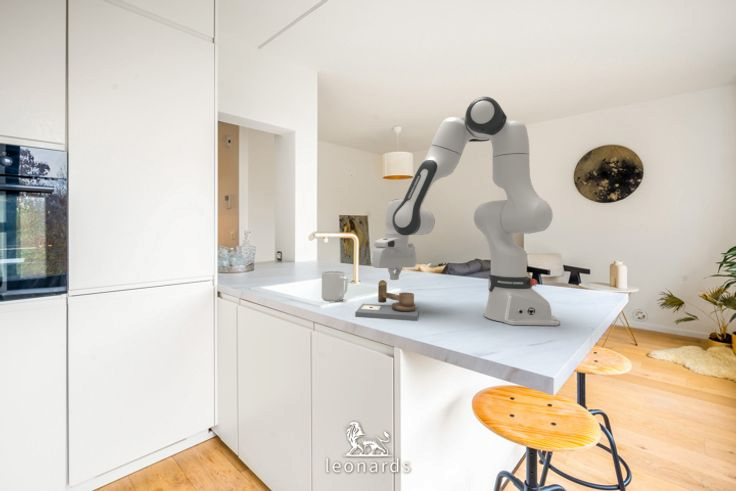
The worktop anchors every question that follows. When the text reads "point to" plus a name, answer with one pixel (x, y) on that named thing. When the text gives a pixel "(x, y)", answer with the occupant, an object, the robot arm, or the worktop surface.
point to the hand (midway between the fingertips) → (394, 279)
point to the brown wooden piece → (396, 298)
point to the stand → (385, 312)
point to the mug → (333, 285)
